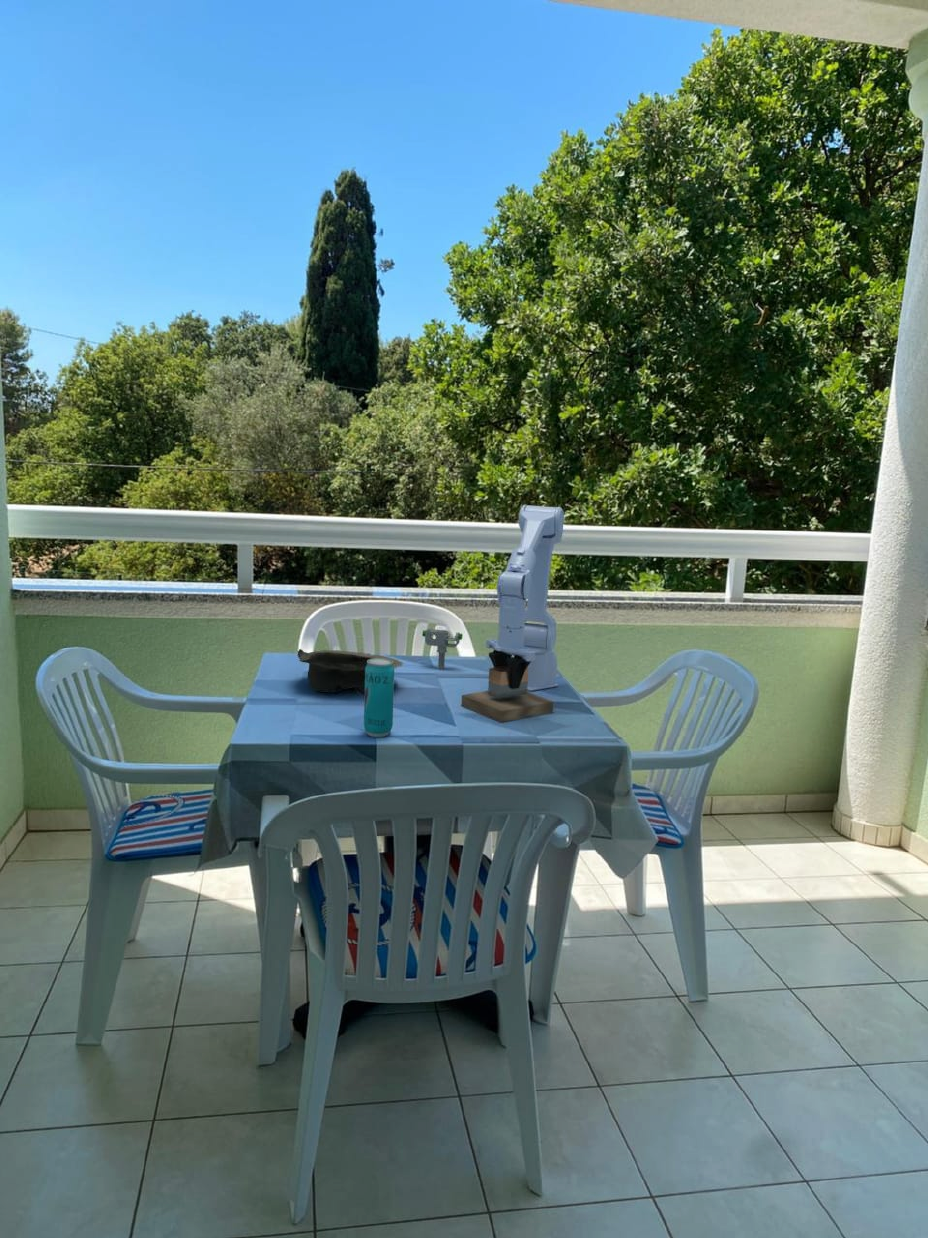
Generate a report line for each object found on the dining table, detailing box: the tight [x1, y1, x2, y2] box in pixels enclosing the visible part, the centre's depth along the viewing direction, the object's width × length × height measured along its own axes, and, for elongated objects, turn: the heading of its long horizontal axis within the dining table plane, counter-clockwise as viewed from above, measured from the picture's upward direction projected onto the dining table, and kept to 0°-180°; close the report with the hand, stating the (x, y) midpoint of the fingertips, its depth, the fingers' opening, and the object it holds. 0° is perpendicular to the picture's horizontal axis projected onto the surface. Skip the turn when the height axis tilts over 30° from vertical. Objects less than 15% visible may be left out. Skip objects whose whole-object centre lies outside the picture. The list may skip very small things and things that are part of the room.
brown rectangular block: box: [487, 665, 529, 699], centre depth 202 cm, size 8×4×6 cm, turn 128°
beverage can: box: [363, 658, 395, 738], centre depth 181 cm, size 6×6×15 cm
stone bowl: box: [297, 648, 404, 695], centre depth 215 cm, size 25×25×9 cm
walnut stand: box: [461, 690, 554, 723], centre depth 203 cm, size 15×14×2 cm
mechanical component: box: [421, 628, 463, 670], centre depth 235 cm, size 3×10×10 cm, turn 78°
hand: (508, 685), depth 202 cm, fingers closed on brown rectangular block, 4 cm apart
